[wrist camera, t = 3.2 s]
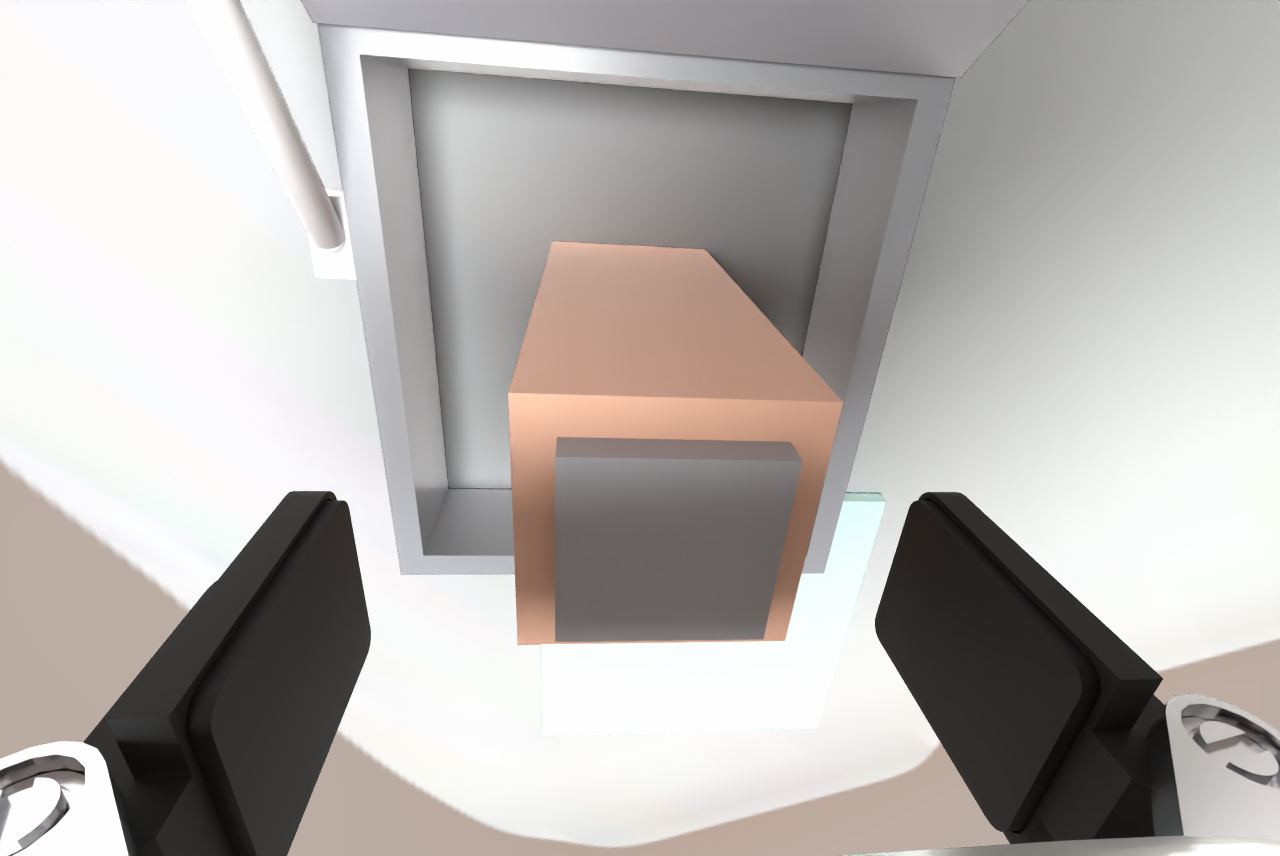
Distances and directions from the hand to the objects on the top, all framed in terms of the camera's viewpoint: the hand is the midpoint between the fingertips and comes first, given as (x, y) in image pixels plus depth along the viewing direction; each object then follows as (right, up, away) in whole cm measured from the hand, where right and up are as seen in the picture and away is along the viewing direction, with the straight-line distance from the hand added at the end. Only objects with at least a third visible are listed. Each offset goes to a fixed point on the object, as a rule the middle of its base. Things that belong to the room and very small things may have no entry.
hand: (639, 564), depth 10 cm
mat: (+3, -7, +17) cm, 19 cm away
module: (-1, +6, +10) cm, 12 cm away
